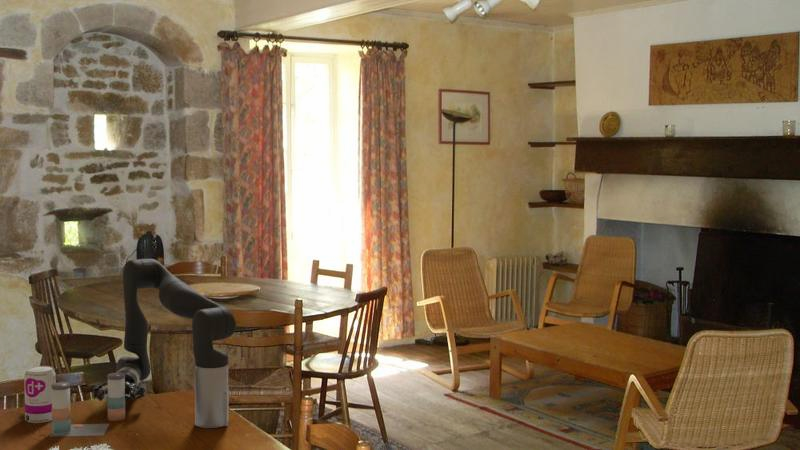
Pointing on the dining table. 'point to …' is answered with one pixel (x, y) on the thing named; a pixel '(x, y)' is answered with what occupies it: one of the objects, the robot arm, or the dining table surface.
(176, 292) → the robot arm
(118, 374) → the slim tube
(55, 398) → the twin tube
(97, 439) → the dining table surface
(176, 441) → the dining table surface
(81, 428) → the slate card
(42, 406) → the supplement can
